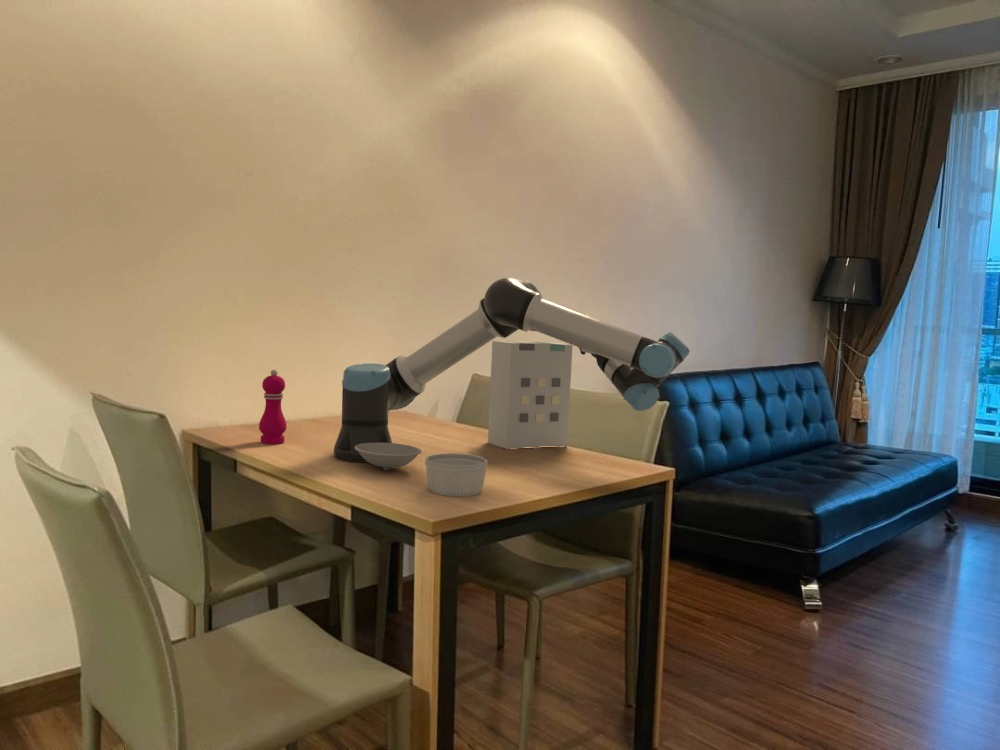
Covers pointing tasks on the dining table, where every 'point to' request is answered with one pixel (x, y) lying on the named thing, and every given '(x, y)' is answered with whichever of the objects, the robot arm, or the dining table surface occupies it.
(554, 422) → the tall patterned block
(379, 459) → the dish
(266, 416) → the pepper mill
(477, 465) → the ramekin
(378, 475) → the dining table surface
